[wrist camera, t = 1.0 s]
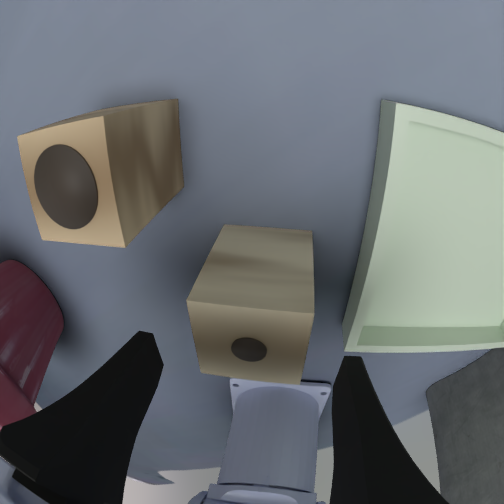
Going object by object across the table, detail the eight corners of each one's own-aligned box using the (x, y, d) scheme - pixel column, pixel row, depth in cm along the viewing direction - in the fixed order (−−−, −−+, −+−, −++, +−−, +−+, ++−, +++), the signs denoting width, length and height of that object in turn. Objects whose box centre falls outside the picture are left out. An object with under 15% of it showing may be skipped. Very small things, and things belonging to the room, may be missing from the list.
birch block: (303, 298, 17) (299, 386, 12) (228, 291, 18) (200, 374, 13) (312, 230, 15) (314, 315, 10) (224, 224, 16) (185, 302, 10)
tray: (498, 326, 16) (508, 346, 14) (341, 324, 18) (344, 351, 16) (562, 159, 9) (584, 172, 7) (381, 99, 11) (396, 102, 9)
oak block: (184, 186, 15) (124, 249, 10) (111, 186, 15) (40, 240, 10) (178, 98, 12) (101, 116, 7) (101, 109, 13) (15, 137, 8)
